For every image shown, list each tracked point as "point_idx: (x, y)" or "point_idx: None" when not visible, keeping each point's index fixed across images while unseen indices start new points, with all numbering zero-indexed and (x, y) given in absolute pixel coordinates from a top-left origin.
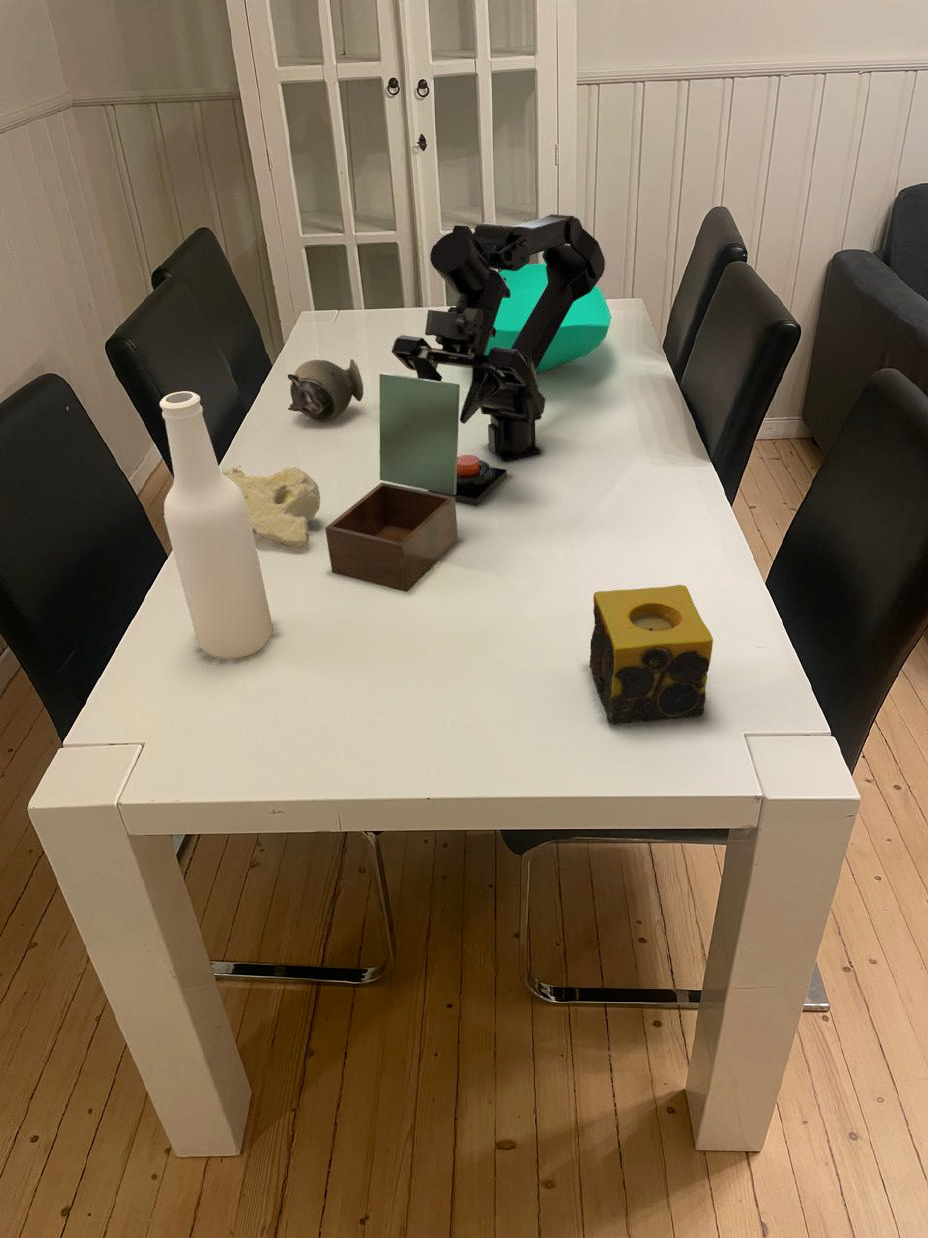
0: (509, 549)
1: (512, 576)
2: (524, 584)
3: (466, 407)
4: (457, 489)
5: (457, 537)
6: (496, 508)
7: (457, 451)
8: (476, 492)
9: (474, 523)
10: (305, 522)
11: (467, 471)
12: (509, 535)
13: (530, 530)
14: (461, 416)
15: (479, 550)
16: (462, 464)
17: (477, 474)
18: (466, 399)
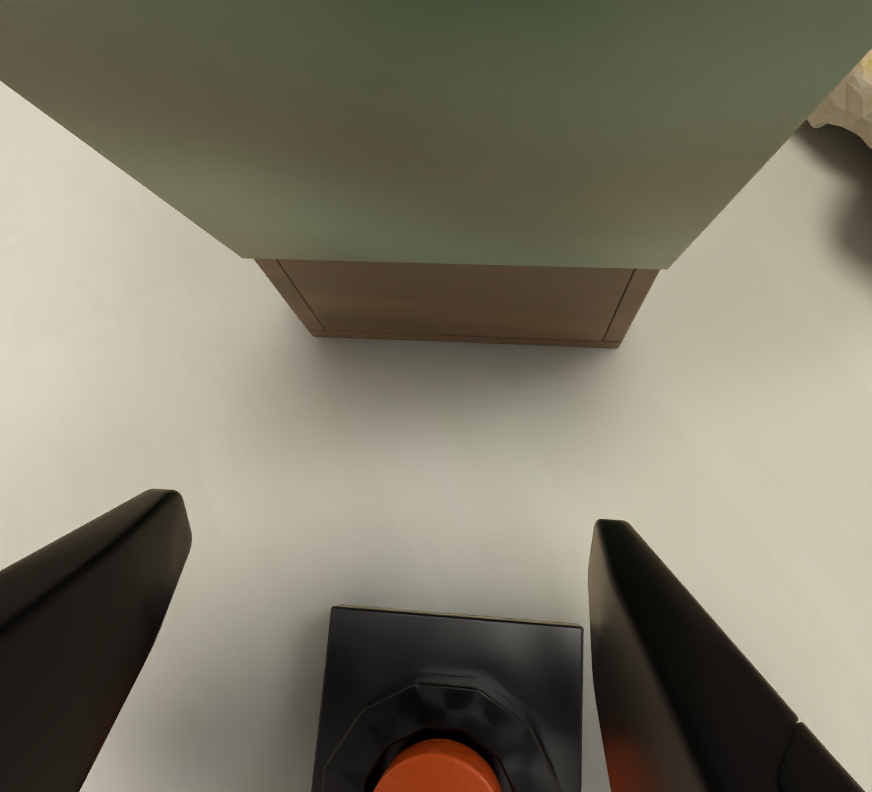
0: (128, 351)
1: (82, 217)
2: (39, 193)
3: (58, 556)
4: (448, 670)
5: (308, 329)
6: (257, 619)
7: (125, 170)
8: (352, 668)
9: (301, 474)
10: (850, 75)
11: (409, 751)
12: (151, 436)
13: (86, 494)
14: (147, 501)
15: (223, 312)
16: (434, 765)
17: (359, 757)
18: (14, 611)
